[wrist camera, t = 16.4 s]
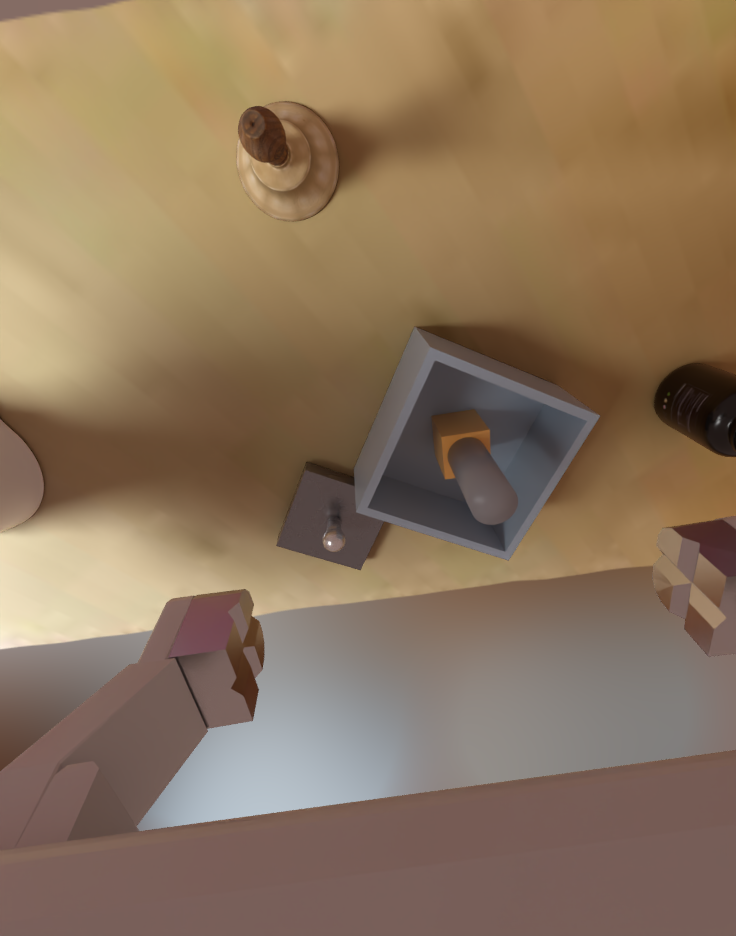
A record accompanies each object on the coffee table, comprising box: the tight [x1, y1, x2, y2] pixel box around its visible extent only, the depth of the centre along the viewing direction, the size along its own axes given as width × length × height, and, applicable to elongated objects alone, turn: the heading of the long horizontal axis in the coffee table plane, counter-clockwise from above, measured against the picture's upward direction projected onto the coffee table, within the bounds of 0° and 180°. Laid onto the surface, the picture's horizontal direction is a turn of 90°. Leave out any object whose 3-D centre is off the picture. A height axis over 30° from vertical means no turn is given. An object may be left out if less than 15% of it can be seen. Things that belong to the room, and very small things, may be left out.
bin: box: [354, 327, 600, 560], centre depth 46 cm, size 16×16×9 cm
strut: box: [431, 409, 518, 525], centre depth 43 cm, size 4×4×15 cm
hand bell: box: [236, 102, 339, 221], centre depth 32 cm, size 8×8×16 cm
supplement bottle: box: [654, 363, 736, 457], centre depth 45 cm, size 7×7×12 cm
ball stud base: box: [277, 462, 384, 570], centre depth 51 cm, size 10×10×6 cm
